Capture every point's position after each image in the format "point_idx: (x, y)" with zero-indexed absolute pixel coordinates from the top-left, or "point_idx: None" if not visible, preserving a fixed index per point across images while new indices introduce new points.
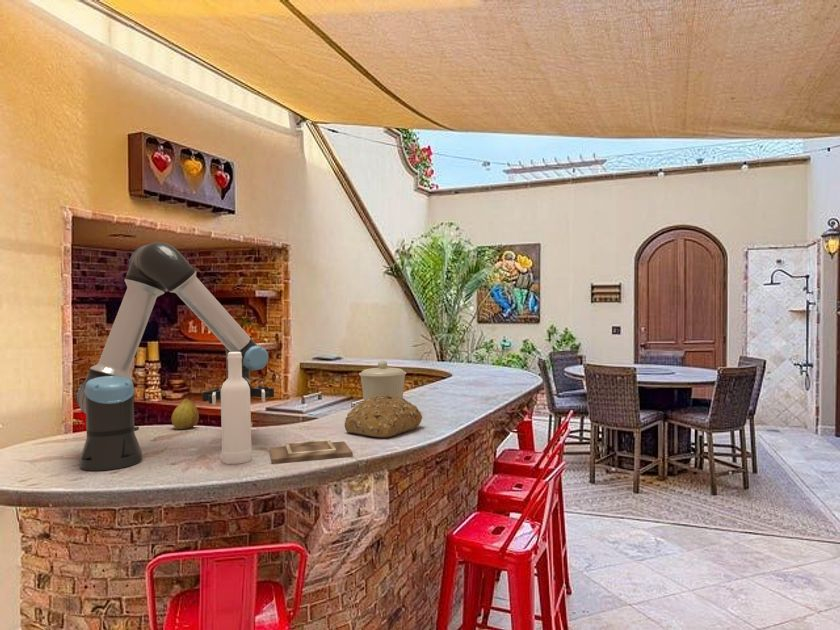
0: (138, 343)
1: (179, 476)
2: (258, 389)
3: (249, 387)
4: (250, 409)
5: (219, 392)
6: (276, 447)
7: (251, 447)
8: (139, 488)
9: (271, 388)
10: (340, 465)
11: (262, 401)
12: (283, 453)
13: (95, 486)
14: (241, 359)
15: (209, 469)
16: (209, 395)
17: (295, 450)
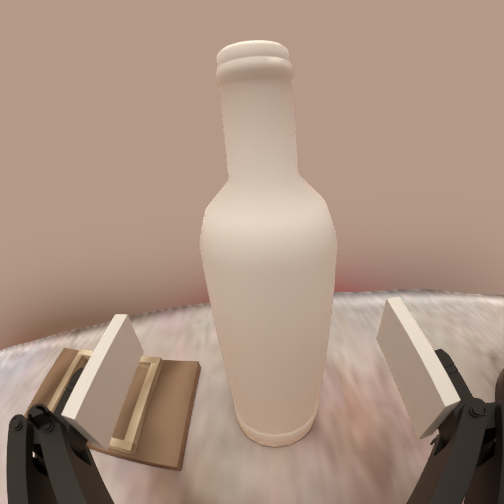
0: None
1: (374, 333)
2: (76, 475)
3: (200, 237)
4: (214, 321)
5: (436, 479)
6: (158, 458)
7: (234, 404)
8: (403, 296)
9: (18, 420)
10: (109, 323)
11: (142, 353)
12: (161, 395)
13: (465, 306)
14: (220, 88)
15: (331, 363)
16: (451, 368)
17: (128, 407)
